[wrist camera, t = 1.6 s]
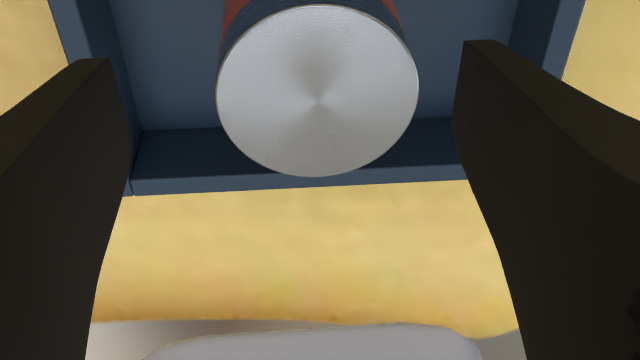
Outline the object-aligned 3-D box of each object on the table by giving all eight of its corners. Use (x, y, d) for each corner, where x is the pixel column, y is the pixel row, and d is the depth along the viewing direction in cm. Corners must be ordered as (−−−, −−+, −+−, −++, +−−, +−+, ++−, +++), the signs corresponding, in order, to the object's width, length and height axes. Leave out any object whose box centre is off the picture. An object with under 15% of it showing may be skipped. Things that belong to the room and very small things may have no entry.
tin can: (397, -78, 18) (449, 23, 13) (358, 61, 22) (387, 187, 16) (237, -110, 18) (224, -14, 12) (221, 40, 21) (205, 167, 15)
